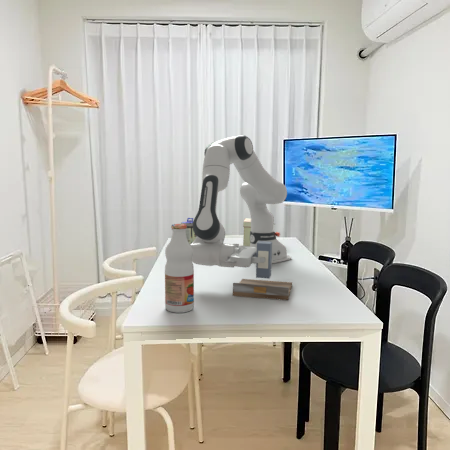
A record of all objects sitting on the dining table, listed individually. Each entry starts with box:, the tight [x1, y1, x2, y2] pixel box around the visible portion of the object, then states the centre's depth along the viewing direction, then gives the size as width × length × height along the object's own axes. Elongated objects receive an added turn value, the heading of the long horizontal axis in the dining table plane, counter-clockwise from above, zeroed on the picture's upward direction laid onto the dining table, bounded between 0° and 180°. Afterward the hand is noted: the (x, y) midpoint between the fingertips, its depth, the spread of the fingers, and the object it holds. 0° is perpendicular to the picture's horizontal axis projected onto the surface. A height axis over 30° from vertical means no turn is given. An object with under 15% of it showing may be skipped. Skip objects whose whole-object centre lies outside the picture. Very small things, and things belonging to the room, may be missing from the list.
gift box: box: [242, 217, 251, 246], centre depth 249 cm, size 17×18×17 cm
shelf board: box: [232, 278, 293, 301], centre depth 164 cm, size 18×20×4 cm
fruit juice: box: [164, 223, 195, 314], centre depth 142 cm, size 9×9×28 cm
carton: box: [255, 241, 273, 280], centre depth 162 cm, size 5×5×13 cm
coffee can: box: [186, 223, 197, 244], centre depth 236 cm, size 10×10×14 cm
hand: (266, 258), depth 162 cm, fingers closed on carton, 5 cm apart
